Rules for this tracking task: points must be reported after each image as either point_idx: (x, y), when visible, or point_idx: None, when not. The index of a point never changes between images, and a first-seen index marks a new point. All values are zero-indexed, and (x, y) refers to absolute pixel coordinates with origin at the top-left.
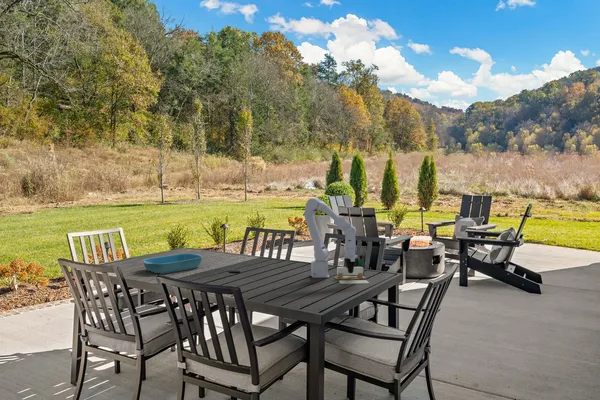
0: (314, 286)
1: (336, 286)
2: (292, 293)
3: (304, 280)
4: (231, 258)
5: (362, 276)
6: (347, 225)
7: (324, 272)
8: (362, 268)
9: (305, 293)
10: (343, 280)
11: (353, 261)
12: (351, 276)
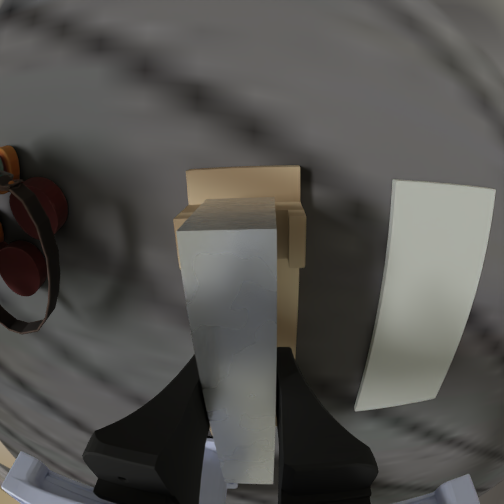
0: (417, 470)
1: (465, 406)
2: None
3: None
4: None
5: (300, 209)
6: None
7: (221, 481)
8: (276, 238)
9: (482, 463)
10: (362, 386)
11: (461, 483)
12: None
